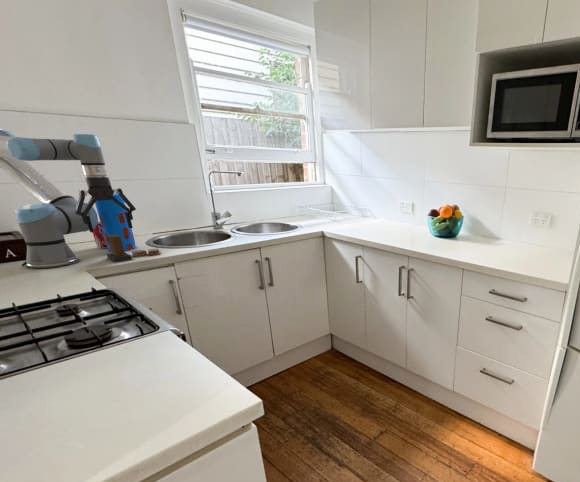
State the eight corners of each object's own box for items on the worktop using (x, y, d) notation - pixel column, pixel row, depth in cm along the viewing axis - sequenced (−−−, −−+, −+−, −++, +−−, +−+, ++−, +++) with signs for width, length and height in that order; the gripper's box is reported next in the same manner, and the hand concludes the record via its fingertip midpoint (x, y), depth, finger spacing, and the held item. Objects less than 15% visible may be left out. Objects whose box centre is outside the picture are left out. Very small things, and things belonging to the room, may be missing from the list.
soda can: (100, 249, 179) (92, 224, 174) (95, 247, 183) (87, 222, 178) (117, 247, 184) (110, 222, 179) (112, 245, 188) (105, 220, 183)
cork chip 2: (149, 255, 171) (148, 251, 170) (148, 253, 174) (147, 249, 173) (159, 254, 173) (158, 250, 172) (158, 252, 176) (157, 248, 175)
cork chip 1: (137, 256, 169) (136, 252, 168) (132, 255, 170) (131, 251, 170) (147, 255, 172) (146, 250, 171) (142, 253, 174) (141, 249, 173)
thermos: (103, 249, 179) (87, 194, 170) (128, 245, 188) (114, 192, 178) (116, 252, 174) (100, 196, 165) (141, 248, 183) (127, 194, 174)
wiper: (115, 262, 160) (108, 238, 156) (107, 258, 165) (101, 235, 162) (131, 259, 164) (125, 236, 160) (123, 255, 170) (117, 233, 166)
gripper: (58, 178, 141) (76, 235, 149) (136, 176, 159) (148, 227, 167) (53, 177, 145) (71, 232, 153) (129, 175, 163) (142, 225, 171)
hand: (112, 229), depth 160 cm, fingers open, 13 cm apart
